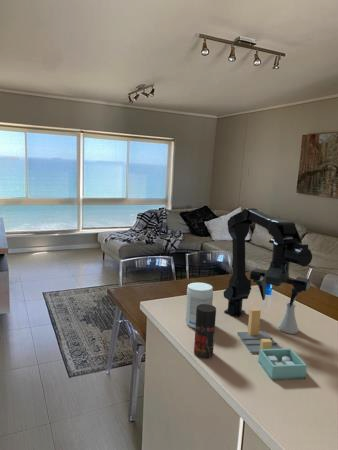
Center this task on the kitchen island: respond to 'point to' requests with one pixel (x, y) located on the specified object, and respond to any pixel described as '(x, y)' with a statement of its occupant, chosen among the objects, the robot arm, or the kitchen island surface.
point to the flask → (289, 321)
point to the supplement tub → (197, 300)
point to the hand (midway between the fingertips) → (276, 303)
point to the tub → (282, 364)
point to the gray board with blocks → (256, 334)
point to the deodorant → (204, 331)
